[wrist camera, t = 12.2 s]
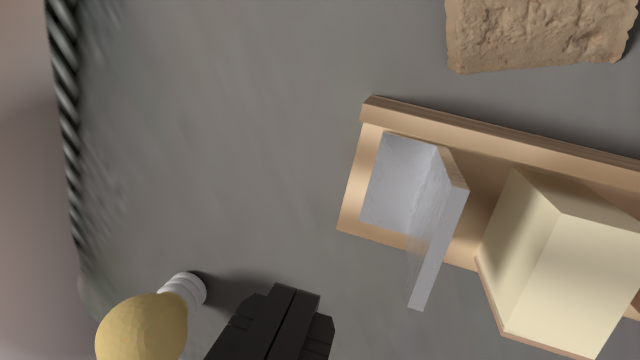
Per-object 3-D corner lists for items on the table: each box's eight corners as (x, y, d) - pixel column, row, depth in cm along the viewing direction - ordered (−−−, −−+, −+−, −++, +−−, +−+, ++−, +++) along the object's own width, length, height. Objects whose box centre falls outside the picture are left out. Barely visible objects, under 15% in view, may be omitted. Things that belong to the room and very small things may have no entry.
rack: (371, 94, 25) (352, 114, 16) (769, 191, 22) (1061, 294, 12) (337, 224, 29) (304, 305, 19) (674, 324, 26) (840, 485, 16)
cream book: (512, 166, 24) (561, 213, 16) (583, 184, 23) (668, 241, 16) (473, 258, 26) (501, 335, 19) (537, 277, 26) (591, 364, 18)
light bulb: (227, 316, 34) (162, 409, 25) (169, 311, 36) (87, 397, 27) (217, 257, 33) (142, 334, 23) (156, 254, 34) (63, 326, 25)
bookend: (383, 130, 25) (373, 164, 16) (447, 146, 24) (470, 190, 16) (359, 216, 27) (339, 285, 19) (416, 233, 27) (422, 311, 18)
